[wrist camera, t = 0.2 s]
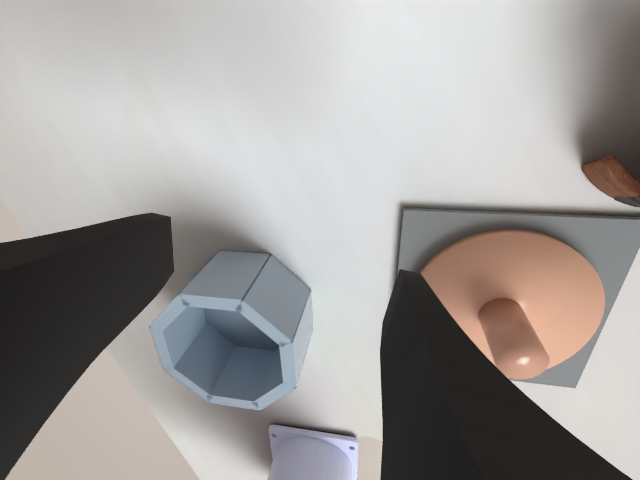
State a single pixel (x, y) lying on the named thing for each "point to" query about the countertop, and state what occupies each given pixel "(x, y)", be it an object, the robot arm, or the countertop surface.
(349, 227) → the countertop surface
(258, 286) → the grey octagonal bowl
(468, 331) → the lid
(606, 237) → the mat
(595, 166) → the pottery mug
